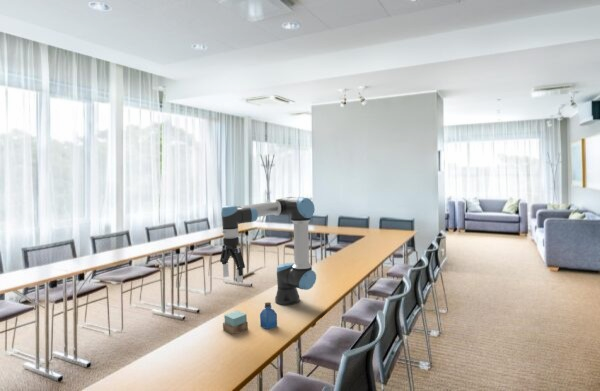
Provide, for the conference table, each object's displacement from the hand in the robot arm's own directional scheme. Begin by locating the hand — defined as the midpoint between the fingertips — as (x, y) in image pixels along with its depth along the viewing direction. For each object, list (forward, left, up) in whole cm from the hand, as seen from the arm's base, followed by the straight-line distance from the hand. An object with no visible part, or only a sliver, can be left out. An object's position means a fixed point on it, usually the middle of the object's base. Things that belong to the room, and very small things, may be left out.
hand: (232, 279), depth 182 cm
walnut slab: (-2, -3, -28) cm, 28 cm away
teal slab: (-3, -3, -24) cm, 24 cm away
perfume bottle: (-16, +6, -28) cm, 33 cm away
